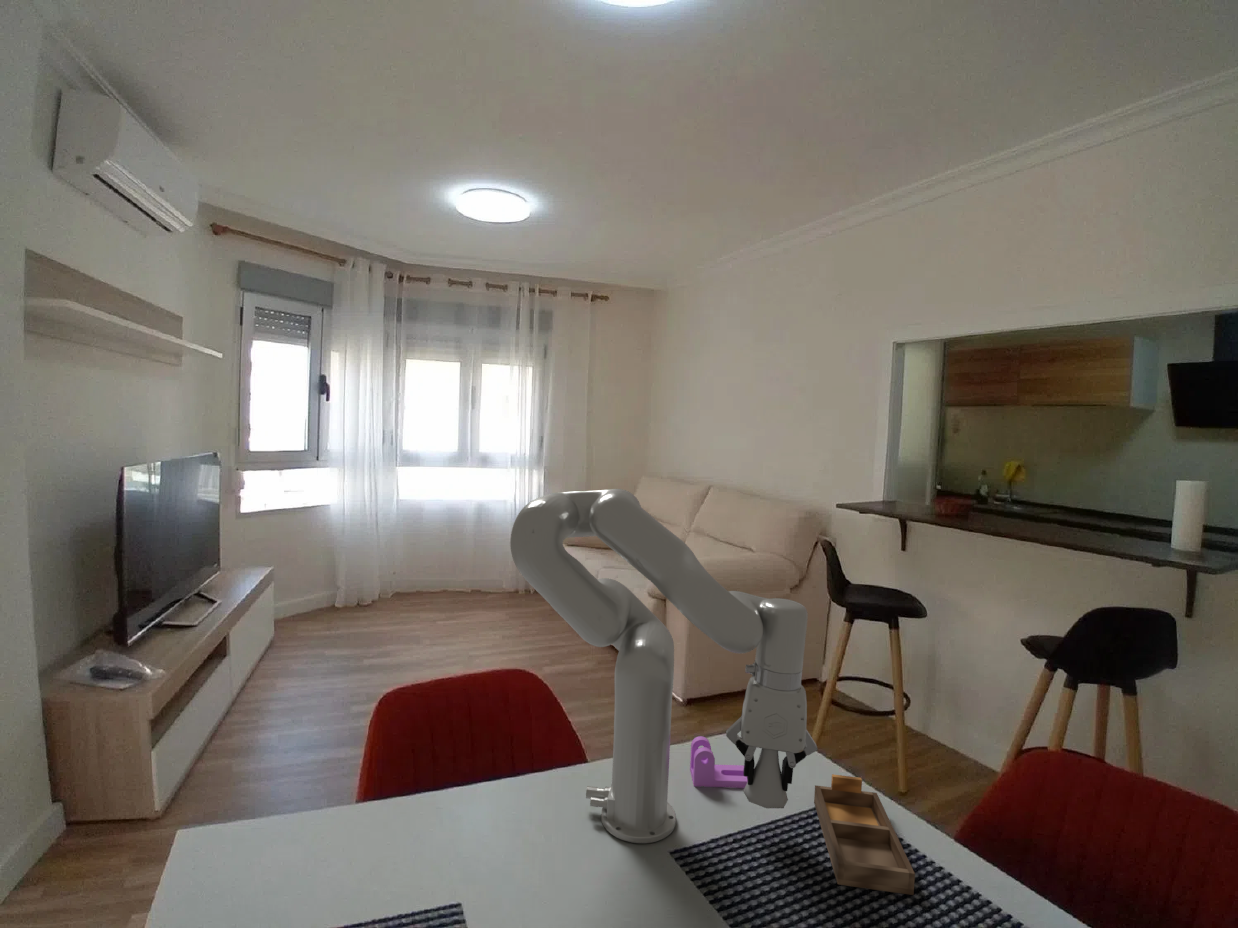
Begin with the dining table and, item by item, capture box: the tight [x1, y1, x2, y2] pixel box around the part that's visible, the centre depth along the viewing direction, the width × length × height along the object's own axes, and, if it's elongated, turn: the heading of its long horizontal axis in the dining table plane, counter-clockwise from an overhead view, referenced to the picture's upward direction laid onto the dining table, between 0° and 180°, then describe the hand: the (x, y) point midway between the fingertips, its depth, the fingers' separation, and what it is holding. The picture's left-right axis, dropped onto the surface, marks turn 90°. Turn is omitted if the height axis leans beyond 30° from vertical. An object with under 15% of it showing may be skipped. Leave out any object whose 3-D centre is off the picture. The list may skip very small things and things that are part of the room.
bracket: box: [689, 735, 748, 789], centre depth 116 cm, size 13×6×7 cm, turn 91°
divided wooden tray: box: [813, 773, 916, 896], centre depth 98 cm, size 11×20×6 cm, turn 171°
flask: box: [742, 748, 789, 809], centre depth 100 cm, size 7×7×10 cm
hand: (766, 782), depth 100 cm, fingers closed on flask, 4 cm apart
